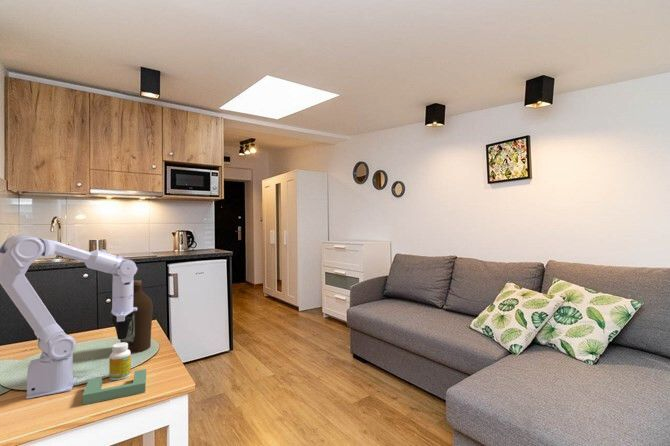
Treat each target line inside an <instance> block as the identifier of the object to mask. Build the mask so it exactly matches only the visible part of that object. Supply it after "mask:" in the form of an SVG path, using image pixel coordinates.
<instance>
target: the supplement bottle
mask: <svg viewBox="0 0 670 446" xmlns="http://www.w3.org/2000/svg"><path fill="white" fill-rule="evenodd" d="M111 350H112V352H111V353H110V354H109V358H108V359H109V365H108V366H109V368H108V370H109V371H108V372H109V373H108V375H109V377H108V378H109V380H111V381H119V380H123V379H127V378H128V377H129V376H131V367H132V366H131V359H132V358H131V357H132V356H131V354H132V353H131V352H130V350H128V343H126V342H122V343H120V342H117V343H115V344H113V345H112V349H111Z"/></svg>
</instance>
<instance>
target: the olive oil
mask: <svg viewBox="0 0 670 446" xmlns="http://www.w3.org/2000/svg"><path fill="white" fill-rule="evenodd" d="M133 281H134V285H133V307H137V311H133V316H132V317H133V318H132V320H131V322H130V324H129V328H128V333H127V337H126V339H119V340H120V342H119V343H122V342H126V343H128V350H130V352H131V354H136V353H141V352H144V351H147V350H149V349H150V348H151V346H152V345H151V344H152V343H151V342H152V324H153V322H152V321H153V311H154V305H153V300H152V298H151V297H149V295H147V294H146V293H145V292H144V291H143V290H142V289H143V284H142V280H137V279H136V280H133Z"/></svg>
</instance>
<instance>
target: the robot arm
mask: <svg viewBox="0 0 670 446" xmlns="http://www.w3.org/2000/svg"><path fill="white" fill-rule="evenodd" d="M53 255H54V256H55V255H56V256H61V257H64V258H68V259H73V260H77V261H80V262H83V263H84V264H85V266H86V268H88V269H90V270H95V271H99V272H103V273H106V274H111V275H112V292H111V293H112V295H111V296H112V301H111V303H112V304H111V305H112V307H111V311H110V313H111V314H112V317H111V319H110V320H111V323H112V324H113V326H114V328H115V331H116V337H117V339H118V340H120V339H126V337H127V333H128V328H129V324H130V322H131V320H132V318H133V317H132V316H133V311H137V307H133V285H134V281H135V280H134V276H135V275H136V274H137V272H138V267H137V265H136V263H135V261H134V260H132V259H129V258H123V257H122V255H119V254H117V255H115V254H112V253H108V252H107V250H106V249H101V248H100V249H94V250H92V251H87V250H84V249H81V248H78V247H75V246H72V245H68V244H65V243H63V242H59V241H58V240H57V241H56V240H51V239H45V238H41V237H35V236H30V235H29V236H28V235H24V234H16V235H11V236H10V237H8V238H7V239H6V240H5V241H3V243H2V245H1V246H0V285H1V287H2V288H3V289H4V291H5V292H6V294H7V295H8V297H9V298H10V300H11V301H12V302H13V304H14V305H15V307H16V308H17V309H18V311H19V312H20V314H21V315H22V316H23V318H24V319H25V321H26V322H27V323H28V325H29V326H30V328H31V329H32V331H33V332H34V335H35V337H36V338H37V347H38V349H39V350H41V351H42V353H41V354H40V356H39V358H35V359H31V360H30V362H29V364H28V366H27V372H26V373H27V374H26V375H27V376H26V397H25V399H33V398H38V397H42V396H47V395H48V396H49V395H53V394H59V393H65V392H70V391H72V390H73V387H74V386H75V383H76V381H77V380H78V376H74V351H75V350H76V347H77V341H76V339H75V338H74V337H73V336H71V335H68V334H67V333H65V331H64V329H62V327H61V326H60V325H59V324H58V323H57V322H56V320H55V318H54V317H53V315H52V314H51V313H50V311H49V310H48V308H47V307H46V305H45V303H43V301H42V299H41V297H40V296H39V294H38V293H37V292H36V290H35V288H34V287H33V286H32V284H31V282H30V281H29V279H28V278H27V277H26V276H25V274H26V273H27V272H28V270H29V267H30V266H31V264H33V263H34V262H35V261H36V260H37V259H39V258H40V257H42V256H43V257H49V256H53Z"/></svg>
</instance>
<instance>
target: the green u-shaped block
mask: <svg viewBox="0 0 670 446" xmlns="http://www.w3.org/2000/svg"><path fill="white" fill-rule="evenodd" d="M146 384H147V368H145V369H139V370H138V369H137V370H135V371H134V373H133V380H132V382H131V383H127V384H121V385H117V386H116V385H115V386H112V387H106V388H102V386H103V376H99V377H94V378H93V377H92V378H89V379H88V381H87V382H86V386H85V388H84V391H83V394H82V395H81V396H82V406H83V405H84V406H85V405H90V404H94V403H95V404H96V403H99V402H103V401H108V400H113V399H117V398H118V399H119V398H122V397H127V396H128V397H129V396H132V395H136V394H141V393H145V392H146Z"/></svg>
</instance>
